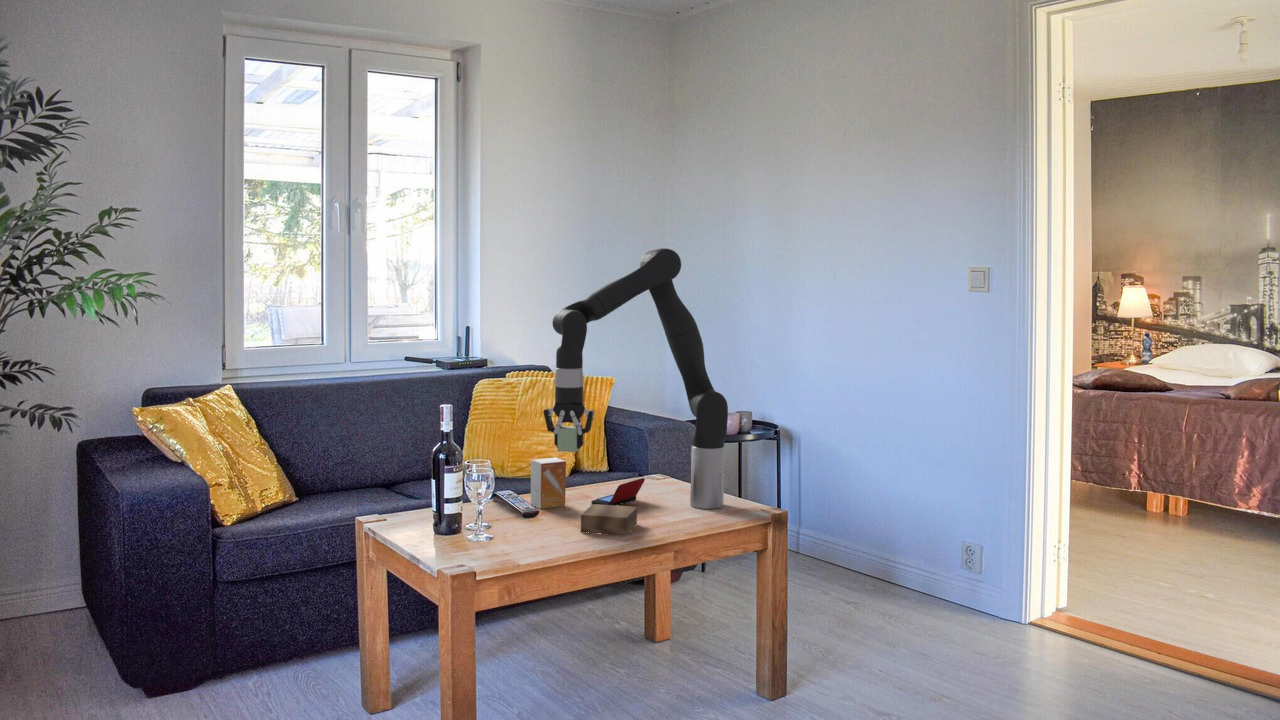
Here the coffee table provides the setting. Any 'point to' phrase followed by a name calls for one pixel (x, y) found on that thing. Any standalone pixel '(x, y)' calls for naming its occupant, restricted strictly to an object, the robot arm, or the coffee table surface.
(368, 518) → the coffee table surface
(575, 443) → the green block
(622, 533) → the walnut base
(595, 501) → the handheld game console
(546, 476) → the small box
